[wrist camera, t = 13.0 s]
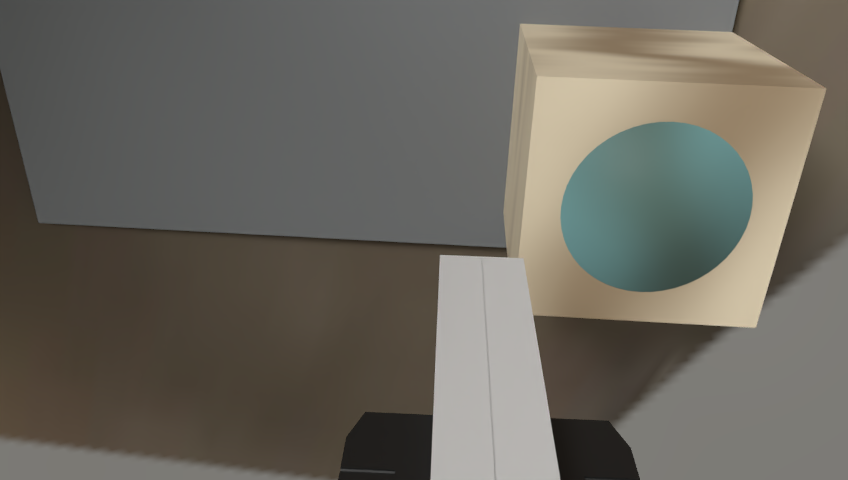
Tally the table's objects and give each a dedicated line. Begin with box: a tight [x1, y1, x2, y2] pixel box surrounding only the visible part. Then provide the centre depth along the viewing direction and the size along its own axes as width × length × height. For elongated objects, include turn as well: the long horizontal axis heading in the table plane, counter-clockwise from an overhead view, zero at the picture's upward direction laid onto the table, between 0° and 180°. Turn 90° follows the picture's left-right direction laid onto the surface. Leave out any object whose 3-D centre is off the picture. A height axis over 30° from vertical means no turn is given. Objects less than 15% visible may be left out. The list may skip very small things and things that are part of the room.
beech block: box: [503, 24, 826, 328], centre depth 22 cm, size 7×7×7 cm
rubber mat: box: [0, 0, 739, 248], centre depth 26 cm, size 26×10×1 cm, turn 88°
